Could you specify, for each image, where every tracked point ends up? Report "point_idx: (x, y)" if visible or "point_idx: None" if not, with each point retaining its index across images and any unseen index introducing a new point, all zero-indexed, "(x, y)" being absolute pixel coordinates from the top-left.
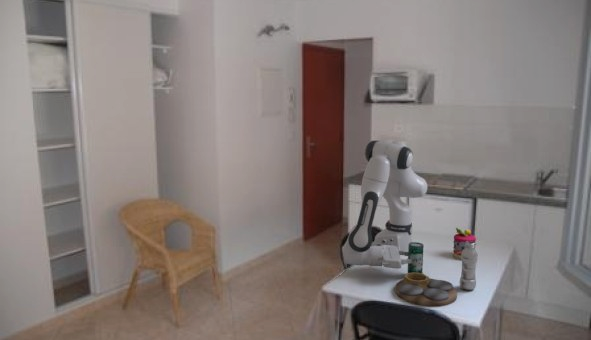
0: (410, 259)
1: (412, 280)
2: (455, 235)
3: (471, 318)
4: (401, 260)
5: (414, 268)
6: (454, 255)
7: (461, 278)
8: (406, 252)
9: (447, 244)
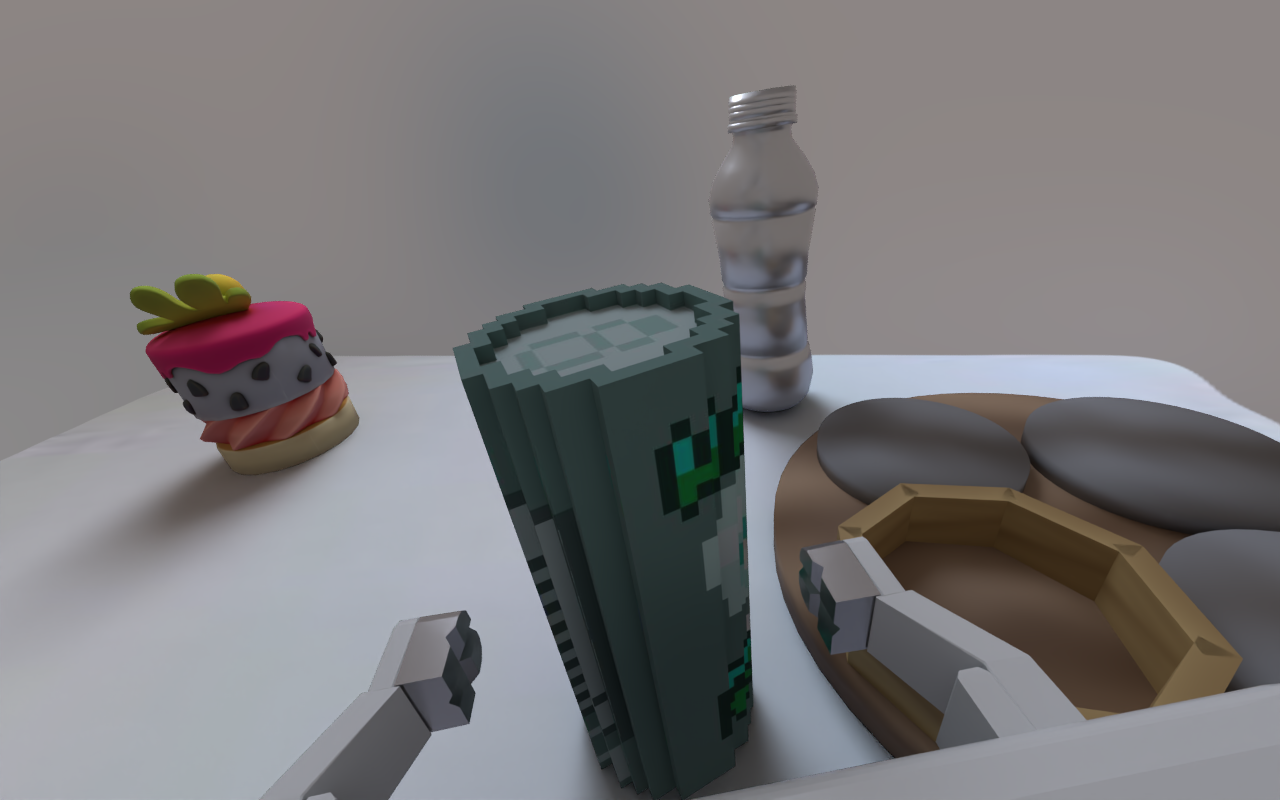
0: (861, 540)
1: (1201, 613)
2: (177, 341)
3: (1168, 365)
4: (1066, 716)
5: (746, 613)
6: (272, 456)
7: (789, 357)
8: (450, 647)
9: (10, 512)
